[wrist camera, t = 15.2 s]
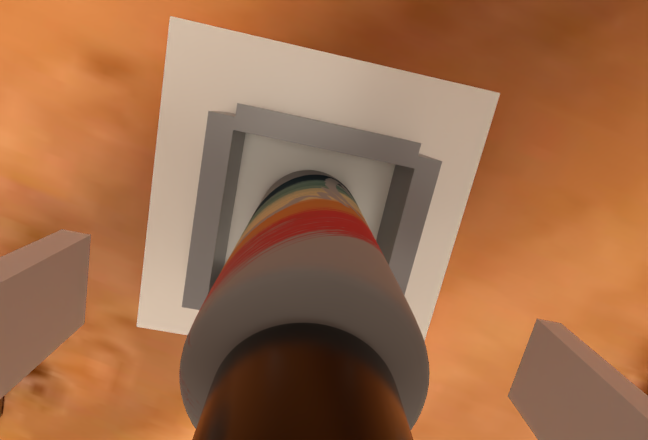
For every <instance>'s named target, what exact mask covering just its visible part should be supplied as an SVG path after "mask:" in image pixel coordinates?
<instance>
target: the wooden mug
mask: <svg viewBox="0 0 648 440" xmlns="http://www.w3.org/2000/svg"><path fill="white" fill-rule="evenodd" d="M2 403H3V398H1V399H0V416H1V411H2Z"/></svg>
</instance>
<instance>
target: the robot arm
mask: <svg viewBox="0 0 648 440" xmlns="http://www.w3.org/2000/svg"><path fill="white" fill-rule="evenodd" d="M90 239H91V235H89V234H84V233H79V232H73V231H68V230H63V229H62V230H60V231H58V232H55V233H53V234H51V235H49V236H47V237H44V238H42V239H40V240H38V241H35V242H33V243H31V244H29V245H26V246H24V247H22V248H20V249H18V250H15V251H13V252H11V253H9V254H6V255H4V256H2V257H0V399H1V398H2V397H3V396H4V395H6V394H7V393H8V392H9V391H10V390H11V389H12V388H13V387H14V386H16V385H17V384H18V383H19V382H20V381H21V380H22V379H23V378H24V377H26V376H27V375H28V374H29V373H30V372H31V371H32V370H33V369H34V368H36V367H37V366H38V365H39V364H40V363H41V362H42V361H43V360H44V359H45V358H47V357H48V356H49V355H50V354H51V353H52V352H53V351H54V350H55V349H57V348H58V347H59V346H60V345H61V344H62V343H63V342H64V341H65V340H67V339H68V338H69V337H70V336H71V335H72V334H73V333H74V332H75V331H77V330H78V329H79V328H80V327H81V326H82V325H83V324H84V322H85V308H86V295H87V281H88V267H89V253H90ZM508 397H509V398H510V400H511V401H512V403H513V404H514V406H515V407H516V408H517V410H518V411H519V413H520V414H521V416H522V417H523V419H524V420H525V421H526V423H527V424H528V426H529V427H530V429H531V430H532V432H533V433H534V434H535V436H536V437H537V439H538V440H648V396H647V395H646V394H645V393H644V392H642V391H641V390H640V389H639V388H638V387H636V386H635V385H634V384H633V383H632V382H630V381H629V380H628V379H627V378H626V377H624V376H623V375H622V374H621V373H620V372H619V371H617V370H616V369H615V368H614V367H613V366H611V365H610V364H609V363H608V362H607V361H605V360H604V359H603V358H602V357H601V356H599V355H598V354H597V353H596V352H595V351H593V350H592V349H591V348H590V347H589V346H587V345H586V344H585V343H584V342H583V341H581V340H580V339H579V338H578V337H577V336H575V335H574V334H573V333H572V332H571V331H570V330H568V329H567V328H566V327H565V326H564V325H562V324H561V323H557V322H552V321H546V320H541V319H537V320H536V323H535V325H534V328H533V331H532V333H531V336H530V339H529V341H528V344H527V347H526V349H525V352H524V355H523V357H522V360H521V362H520V365H519V368H518V370H517V373H516V376H515V378H514V381H513V384H512V386H511V389H510V392H509V394H508Z"/></svg>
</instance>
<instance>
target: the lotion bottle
mask: <svg viewBox="0 0 648 440" xmlns="http://www.w3.org/2000/svg"><path fill="white" fill-rule="evenodd" d="M428 385H429V362H428V356H427V350H426V345H425V342H424V338H423V335H422V333H421V331H420V328H419V326H418V324H417V321H416V319H415V317H414V315H413V312H412V310H411V308H410V306H409V304H408V302H407V300H406V298H405V296H404V294H403V292H402V290H401V288H400V286H399V284H398V282H397V280H396V279H395V277H394V275H393V273H392V271H391V269H390V267H389V265H388V263H387V261H386V259H385V257H384V255H383V253H382V251H381V250H380V248H379V246H378V244H377V242H376V240H375V238H374V236H373V234H372V232H371V230H370V228H369V226H368V224H367V222H366V220H365V219H364V217H363V215H362V213H361V211H360V209H359V207H358V205H357V203H356V201H355V199H354V198H353V196H352V194H351V193H350V192H349V190H348V189H347V188H346V187H345V186H344V185H343V184H342V183H341V182H340V181H339V180H337V179H336V178H334V177H333V176H331V175H329V174H326V173H324V172H320V171H315V170H302V171H297V172H293V173H290V174H288V175H286V176H284V177H282V178H281V179H279V180H278V181H277V182H276V183H274V184H273V185H272V186H271V187H270V189H269V190H268V191H267V192H266V194H265V195H264V197H263V199H262V200H261V202H260V204H259V205H258V207H257V209H256V211H255V212H254V214H253V216H252V218H251V219H250V221H249V223H248V225H247V227H246V228H245V230H244V232H243V234H242V235H241V237H240V239H239V241H238V242H237V244H236V246H235V248H234V249H233V251H232V253H231V255H230V256H229V258H228V260H227V262H226V264H225V265H224V267H223V269H222V271H221V272H220V274H219V276H218V278H217V279H216V281H215V283H214V285H213V286H212V288H211V290H210V292H209V294H208V295H207V297H206V299H205V301H204V303H203V305H202V306H201V308H200V310H199V312H198V314H197V316H196V318H195V320H194V322H193V324H192V327H191V329H190V331H189V333H188V335H187V338H186V341H185V344H184V348H183V353H182V357H181V363H180V389H181V395H182V399H183V403H184V406H185V409H186V411H187V414H188V416H189V418H190V420H191V422H192V424H193V425H194V427H195V428H196V431H195V434H194V437H193V439H192V440H413V437H412V434H411V431H410V430H411V429H412V427H413V426H414V424H415V423H416V421H417V419H418V417H419V415H420V413H421V411H422V408H423V406H424V403H425V399H426V396H427V391H428Z"/></svg>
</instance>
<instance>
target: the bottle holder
mask: <svg viewBox="0 0 648 440" xmlns="http://www.w3.org/2000/svg"><path fill="white" fill-rule="evenodd" d="M499 96H500V93H498V92H493V91H489V90H485V89H481V88H476V87H472V86H468V85H463V84H459V83H455V82H451V81H446V80H442V79H438V78H434V77H429V76H425V75H421V74H416V73H412V72H408V71H404V70H399V69H395V68H391V67H386V66H382V65H378V64H374V63H369V62H365V61H361V60H356V59H352V58H348V57H344V56H339V55H335V54H331V53H327V52H322V51H318V50H314V49H309V48H305V47H301V46H297V45H292V44H288V43H284V42H279V41H275V40H271V39H267V38H262V37H258V36H254V35H249V34H245V33H241V32H237V31H232V30H228V29H224V28H219V27H215V26H211V25H207V24H202V23H198V22H194V21H190V20H185V19H181V18H177V17H172V16H170V21H169V31H168V40H167V49H166V58H165V68H164V77H163V86H162V96H161V105H160V114H159V123H158V133H157V142H156V151H155V161H154V170H153V179H152V188H151V198H150V207H149V216H148V225H147V235H146V244H145V253H144V263H143V272H142V281H141V290H140V300H139V309H138V318H137V327H141V328H147V329H153V330H159V331H165V332H171V333H177V334H183V335H188V333H189V331H190V329H191V327H192V324H193V322H194V320H195V318H196V316H197V314H198V312H199V310H200V308H201V306H202V305H203V303H204V301H205V299H206V297H207V295H208V294H209V292H210V290H211V288H212V286H213V285H214V283H215V281H216V279H217V278H218V276H219V274H220V272H221V271H222V269H223V267H224V265H225V264H226V262H227V260H228V258H229V256H230V255H231V253H232V251H233V249H234V248H235V246H236V244H237V242H238V241H239V239H240V237H241V235H242V234H243V232H244V230H245V228H246V227H247V225H248V223H249V221H250V219H251V218H252V216H253V214H254V212H255V211H256V209H257V207H258V205H259V204H260V202H261V200H262V199H263V197H264V195H265V194H266V192H267V191H268V190H269V189H270V187H271V186H272V185H273V184H274V183H276V182H277V181H278V180H279V179H281V178H282V177H284V176H286V175H288V174H290V173H293V172H297V171H302V170H315V171H320V172H324V173H326V174H329V175H331V176H333V177H334V178H336V179H337V180H339V181H340V182H341V183H342V184H343V185H344V186H345V187H346V188H347V189H348V190H349V192H350V193H351V194H352V196H353V198H354V199H355V201H356V203H357V205H358V207H359V209H360V211H361V213H362V215H363V217H364V219H365V220H366V222H367V224H368V226H369V228H370V230H371V232H372V234H373V236H374V238H375V240H376V242H377V244H378V246H379V248H380V250H381V251H382V253H383V255H384V257H385V259H386V261H387V263H388V265H389V267H390V269H391V271H392V273H393V275H394V277H395V279H396V280H397V282H398V284H399V286H400V288H401V290H402V292H403V294H404V296H405V298H406V300H407V302H408V304H409V306H410V308H411V310H412V312H413V315H414V317H415V319H416V321H417V324H418V326H419V328H420V331H421V333H422V335H423V338H424V341H425V338H426V334H427V331H428V328H429V325H430V321H431V318H432V315H433V311H434V308H435V305H436V302H437V298H438V295H439V292H440V289H441V285H442V282H443V279H444V276H445V272H446V269H447V266H448V262H449V259H450V256H451V253H452V249H453V246H454V243H455V240H456V236H457V233H458V230H459V226H460V223H461V220H462V217H463V213H464V210H465V207H466V204H467V200H468V197H469V194H470V190H471V187H472V184H473V181H474V177H475V174H476V171H477V168H478V164H479V161H480V158H481V154H482V151H483V148H484V145H485V141H486V138H487V135H488V132H489V128H490V125H491V122H492V118H493V115H494V112H495V109H496V105H497V102H498V99H499Z"/></svg>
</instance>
